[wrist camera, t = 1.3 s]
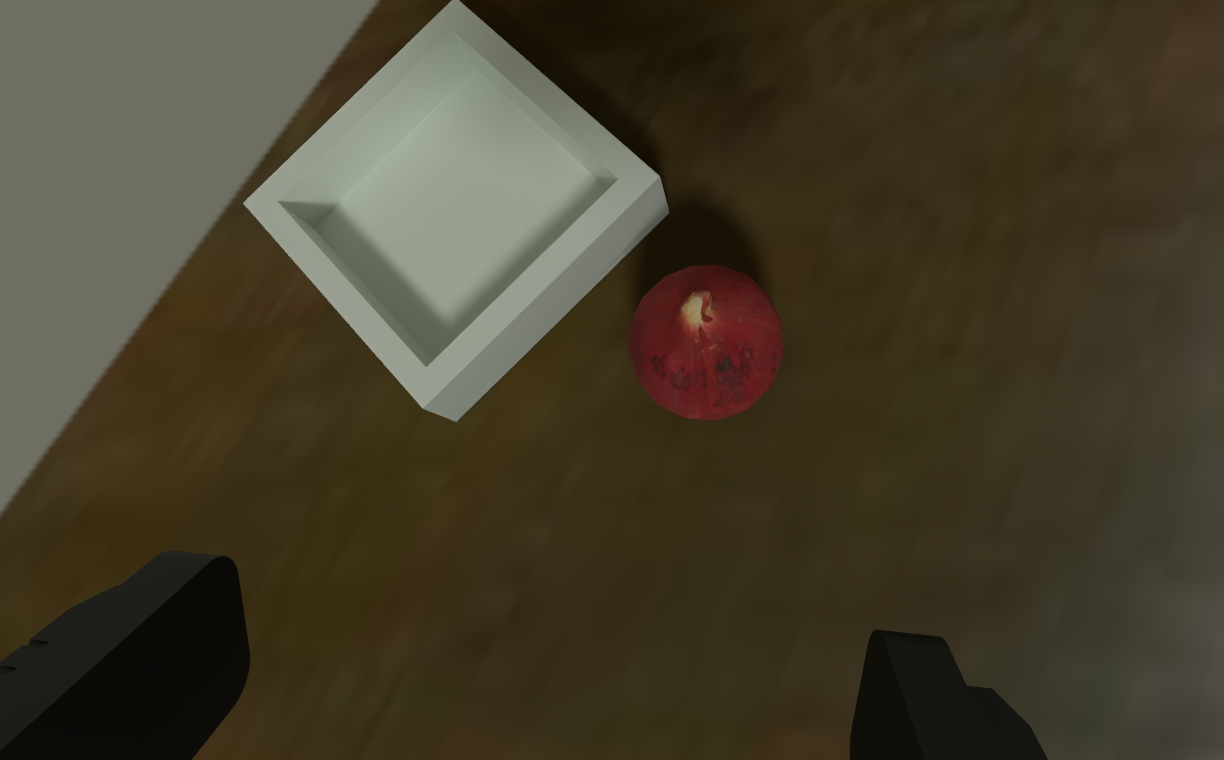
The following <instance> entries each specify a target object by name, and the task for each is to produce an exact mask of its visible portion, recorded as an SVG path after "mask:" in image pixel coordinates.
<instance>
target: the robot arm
mask: <svg viewBox="0 0 1224 760" xmlns="http://www.w3.org/2000/svg"><path fill="white" fill-rule="evenodd" d="M249 666H250V650H249V644H248V637H247V630H246V623H245V616H244V609H243V603H242V596H241V589H240V582H239V575H238V570H237V567H236V565H235V563H234V562H233V560H231V559H230V558H229V557H226V556H218V555H208V554H199V553H190V552H181V551H171V550H170V551H165V552H163V553H161V554H159V555H158V556H156V557H155V558H154V559H152V560H151V561H150V562H149V563H147V564H146V565H145V566H144V567H142V568H141V569H140V570H139V571H137V572H136V573H135V574H134V575H132V576H131V577H130V578H129V579H127V580H126V581H125V582H124V583H123V584H121V585H120V586H115V587H113V588H111V589H109V590H107V591H105V592H103V593H101V594H99V595H97V596H95V597H93V598H91V599H89V600H86V601H84V602H82V603H80V604H78V605H76V606H74V607H72V608H70V609H68V610H67V611H66V612H65V613H63V614H62V615H61V616H59V617H58V618H57V619H56V620H54V621H53V622H52V623H50V624H49V625H48V626H47V627H45V628H44V629H43V630H41V631H40V632H39V633H38V634H36V635H35V636H34V637H32V638H31V639H30V643H29V645H28V646H21V647H19V648H18V649H17V650H16V651H14V652H13V653H12V654H10V655H9V656H8V657H7V658H5V659H4V660H3V661H1V662H0V760H192V758H193V757H194V756H195V755H196V753H197V752H198V751H199V750H200V748H201V747H202V746H203V745H204V743H205V742H206V741H207V740H208V738H209V737H210V736H211V735H212V733H213V732H214V731H215V730H216V728H217V727H218V726H219V725H220V723H221V722H222V721H223V720H224V718H225V717H226V716H227V715H228V713H229V712H230V711H231V710H232V708H233V707H234V705H235V704H236V703H237V701H238V699H239V697H240V695H241V693H242V691H243V689H244V686H245V683H246V680H247V677H248V672H249ZM850 760H1048V759H1047V757H1046V755H1045V753H1044V751H1043V749H1042V747H1041V746H1040V744H1039V742H1038V740H1037V738H1036V736H1035V734H1034V732H1033V731H1032V729H1031V727H1030V726H1029V725H1028V724H1027V723H1026V722H1025V721H1024V720H1023V719H1022V718H1021V717H1020V716H1019V715H1018V714H1017V713H1016V712H1015V711H1014V710H1013V709H1012V708H1011V707H1010V706H1009V705H1008V704H1007V703H1006V702H1005V701H1004V700H1003V699H1002V698H1001V697H1000V696H999V695H998V694H997V693H996V692H995V691H994V690H993V689H991V688H982V687H973V686H966V684H965V681H964V679H963V677H962V675H961V673H960V671H959V668H958V666H957V664H956V662H955V660H954V657H953V655H952V653H951V651H950V649H949V646H948V645H947V643H946V641H945V640H944V639H943V638H942V637H939V636H930V635H921V634H912V633H902V632H893V631H884V630H874V631H873V632H872V634H871V636H870V639H869V643H868V647H867V652H866V657H865V662H864V667H863V673H862V678H861V683H860V688H859V693H858V698H857V704H856V709H855V714H854V719H853V724H852V730H851V738H850Z"/></svg>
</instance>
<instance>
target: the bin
mask: <svg viewBox="0 0 1224 760" xmlns="http://www.w3.org/2000/svg"><path fill="white" fill-rule="evenodd" d="M243 204H244V205H245V206H246V207H247V208H248V209H249V210H250V212H251V213H252V214H253V215H254V216H255V217H256V218H257V220H258V221H259V222H260V223H261V224H262V225H263V226H264V228H265V229H266V230H267V231H268V232H269V233H270V234H271V236H272V237H273V238H274V239H275V240H276V241H277V242H278V244H279V245H280V246H281V247H282V248H283V249H284V250H285V252H286V253H287V254H288V255H289V256H290V257H291V258H292V260H293V261H294V262H295V263H296V264H297V265H298V266H299V268H300V269H301V270H302V271H303V272H304V273H305V274H306V276H307V277H308V278H309V279H310V280H311V281H312V282H313V284H314V285H315V286H316V287H317V288H318V289H319V290H320V292H321V293H322V294H323V295H324V296H325V297H326V298H327V300H328V301H329V302H330V303H331V304H332V305H333V306H334V308H335V309H336V310H337V311H338V312H339V313H340V314H341V316H342V317H343V318H344V319H345V320H346V321H347V322H348V324H349V325H350V326H351V327H352V328H353V329H354V330H355V332H356V333H357V334H358V335H359V336H360V337H361V338H362V340H363V341H364V342H365V343H366V344H367V345H368V346H369V348H370V349H371V350H372V351H373V352H374V353H375V354H376V356H377V357H378V358H379V359H380V360H381V361H382V362H383V364H384V365H385V366H386V367H387V368H388V369H389V370H390V372H391V373H392V374H393V375H394V376H395V377H396V378H397V380H398V381H399V382H400V383H401V384H402V385H403V386H404V388H405V389H406V390H407V391H408V392H409V393H410V394H411V396H412V397H413V398H414V399H415V400H416V401H417V402H418V404H419V405H420V406H421V407H422V408H423V409H425V410H428V411H430V412H433V413H435V414H438V415H440V416H443V417H446V418H448V419H451V420H453V421H456V422H457V421H458V420H459V419H460V418H461V417H462V416H463V415H464V414H465V413H466V412H467V411H468V410H469V409H470V408H471V407H472V406H473V405H474V404H475V403H476V402H477V401H478V400H479V399H480V398H481V397H482V396H483V395H484V394H485V393H486V392H487V391H488V390H489V389H490V388H491V387H492V386H493V385H494V384H495V383H496V382H497V381H498V380H499V379H501V378H502V377H503V376H504V375H505V374H506V373H507V372H508V371H509V370H510V369H511V368H512V367H513V366H514V365H515V364H516V363H517V362H518V361H519V360H520V359H521V358H522V357H523V356H524V355H525V354H526V353H527V352H528V351H529V350H530V349H531V348H532V347H533V346H534V345H535V344H536V343H537V342H538V341H539V340H540V339H541V338H542V337H543V336H544V335H545V334H546V333H547V332H548V331H549V330H550V329H551V328H553V327H554V326H555V325H556V324H557V323H558V322H559V321H560V320H561V319H562V318H563V317H564V316H565V315H566V314H567V313H568V312H569V311H570V310H571V309H572V308H573V307H574V306H575V305H576V304H577V303H578V302H579V301H580V300H581V299H582V298H583V297H584V296H585V295H586V294H587V293H588V292H589V291H590V290H591V289H592V288H593V287H594V286H595V285H596V284H597V283H598V282H599V281H600V280H601V279H602V278H603V277H604V276H606V275H607V274H608V273H609V272H610V271H611V270H612V269H613V268H614V267H615V266H616V265H617V264H618V263H619V262H620V261H621V260H622V259H623V258H624V257H625V256H626V255H627V254H628V253H629V252H630V251H631V250H632V249H633V248H634V247H635V246H636V245H637V244H638V243H639V242H640V241H641V240H642V239H643V238H644V237H645V236H646V235H647V234H648V233H649V232H650V231H651V230H652V229H653V228H654V227H655V226H656V225H658V224H659V223H660V222H661V221H662V220H663V219H664V218H665V217H666V216H667V215H668V214H669V209H668V205H667V201H666V197H665V194H664V190H663V186H662V182H661V178H660V176H659V175H658V174H657V173H656V172H654V171H653V170H652V169H651V168H650V167H649V166H648V165H646V164H645V163H644V162H643V161H642V160H641V159H640V158H638V157H637V156H636V155H635V154H634V153H633V152H632V151H630V150H629V149H628V148H627V147H626V146H625V145H624V144H622V143H621V142H620V141H619V140H618V139H617V138H616V137H614V136H613V135H612V134H611V133H610V132H609V131H608V130H606V129H605V128H604V127H603V126H602V125H601V124H600V123H598V122H597V121H596V120H595V119H594V118H593V117H592V116H590V115H589V114H588V113H587V112H586V111H585V110H584V109H582V108H581V107H580V106H579V105H578V104H577V103H576V102H574V101H573V100H572V99H571V98H570V97H569V96H568V95H566V94H565V93H564V92H563V91H562V90H561V89H560V88H558V87H557V86H556V85H555V84H554V83H553V82H552V81H550V80H549V79H548V78H547V77H546V76H545V75H544V74H542V73H541V72H540V71H539V70H538V69H537V68H536V67H534V66H533V65H532V64H531V63H530V62H529V61H528V60H526V59H525V58H524V57H523V56H522V55H521V54H520V53H518V52H517V51H516V50H515V49H514V48H513V47H512V46H510V45H509V44H508V43H507V42H506V41H505V40H504V39H502V38H501V37H500V36H499V35H498V34H497V33H496V32H494V31H493V30H492V29H491V28H490V27H489V26H488V25H486V24H485V23H484V22H483V21H482V20H481V19H480V18H478V17H477V16H476V15H475V14H474V13H473V12H472V11H470V10H469V9H468V8H467V7H466V6H465V5H464V4H462V3H461V2H460V1H459V0H452V1H451V2H450V3H449V4H448V5H447V6H446V7H445V8H444V9H442V10H441V11H440V12H439V13H438V14H437V15H436V16H435V17H434V18H433V19H432V20H431V21H430V22H429V23H428V24H427V25H426V26H425V27H424V28H423V29H422V30H421V31H420V32H419V33H418V34H417V35H416V36H415V37H414V38H413V39H412V40H411V41H410V42H409V43H407V44H406V45H405V46H404V47H403V48H402V49H401V50H400V51H399V52H398V53H397V54H396V55H395V56H394V57H393V58H392V59H391V60H390V61H389V62H388V63H387V64H386V65H385V66H384V67H383V68H382V69H381V70H380V71H379V72H378V73H377V74H376V75H375V76H373V77H372V78H371V79H370V80H369V81H368V82H367V83H366V84H365V85H364V86H363V87H362V88H361V89H360V90H359V91H358V92H357V93H356V94H355V95H354V96H353V97H352V98H351V99H350V100H349V101H348V102H347V103H346V104H345V105H344V106H343V107H342V108H341V109H339V110H338V111H337V112H336V113H335V114H334V115H333V116H332V117H331V118H330V119H329V120H328V121H327V122H326V123H325V124H324V125H323V126H322V127H321V128H320V129H319V130H318V131H317V132H316V133H315V134H314V135H313V136H312V137H311V138H310V139H309V140H308V141H307V142H305V143H304V144H303V145H302V146H301V147H300V148H299V149H298V150H297V151H296V152H295V153H294V154H293V155H292V156H291V157H290V158H289V159H288V160H287V161H286V162H285V163H284V164H283V165H282V166H281V167H280V168H279V169H278V170H277V171H276V172H275V173H274V174H273V175H271V176H270V177H269V178H268V179H267V180H266V181H265V182H264V183H263V184H262V185H261V186H260V187H259V188H258V189H257V190H256V191H255V192H254V193H253V194H252V195H251V196H250V197H249V198H248V199H247V200H246V201H245V202H244V203H243Z"/></svg>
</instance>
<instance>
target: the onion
mask: <svg viewBox="0 0 1224 760" xmlns="http://www.w3.org/2000/svg"><path fill="white" fill-rule="evenodd" d="M629 356H630V359H631V362H632V365H633V367H634V370H635V373H636V376H637V378H638V381H639V383H640V384H641V386H642V387H643V388H644V389H645V390H646V392H647V393H648V394H649V395H650V396H651V398H652V399H653V400H654V401H655V403H656V404H658V405H660V406H662V407H664V408H666V409H668V410H670V411H672V412H674V413H676V414H678V415H680V416H682V417H684V418H691V419H701V420H712V421H719V420H721V419H724V418H727V417H729V416H732V415H735V414H738V413H740V412H743V411H746V410H748V409H749V408H750V407H751V406H752V405H753V404H754V403H755V402H756V401H757V400H758V399H759V398H760V397H761V396H762V395H763V394H764V393H765V392H766V391H767V390H768V389H769V388H770V387H771V386H772V385H773V383H774V380H775V377H776V374H777V372H778V369H779V366H780V363H781V360H782V357H783V342H782V325H781V319H780V317H779V315H778V313H777V311H776V309H775V308H774V306H773V304H772V302H771V300H770V298H769V296H768V294H767V293H766V292H765V291H764V290H763V289H762V288H761V287H760V286H759V285H758V284H757V283H756V282H755V281H754V280H752V279H751V278H750V277H749V276H748V275H747V274H745V273H742V272H739V271H736V270H733V269H730V268H727V267H724V266H721V265H705V266H690V267H687V268H685V269H683V270H680V271H678V272H675V273H673V274H670V275H668V276H665V277H664V278H663V279H662V280H661V281H660V282H659V283H657V284H656V285H655V286H654V287H653V288H652V289H651V290H650V291H649V292H648V293H647V294H645V295H644V296H643V297H642V299H641V301H640V303H639V305H638V308H637V310H636V312H635V314H634V316H633V318H632V320H631V322H630V324H629Z"/></svg>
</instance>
